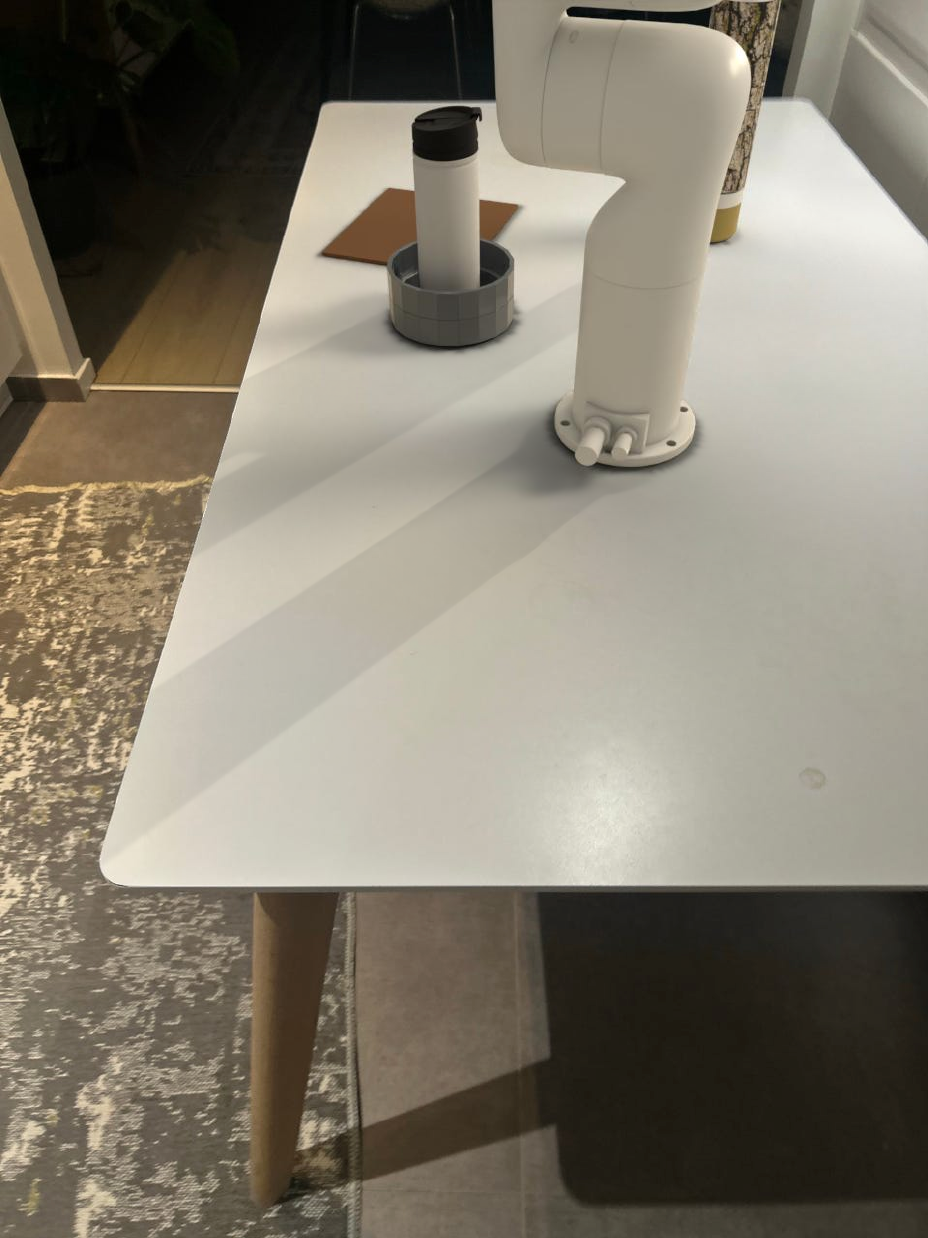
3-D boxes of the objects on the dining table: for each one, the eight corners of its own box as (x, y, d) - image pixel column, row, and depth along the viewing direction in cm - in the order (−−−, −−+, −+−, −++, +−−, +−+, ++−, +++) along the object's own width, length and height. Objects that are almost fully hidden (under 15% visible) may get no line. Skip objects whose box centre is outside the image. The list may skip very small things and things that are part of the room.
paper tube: (719, 249, 108) (766, -1, 90) (668, 235, 111) (703, -10, 93) (745, 229, 112) (794, -16, 94) (694, 215, 115) (733, -24, 97)
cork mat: (464, 277, 105) (464, 273, 104) (321, 255, 109) (321, 251, 109) (518, 207, 118) (518, 204, 117) (389, 190, 122) (388, 187, 122)
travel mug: (483, 329, 96) (482, 121, 82) (419, 329, 96) (407, 122, 82) (483, 299, 100) (482, 98, 86) (423, 300, 100) (411, 99, 86)
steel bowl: (489, 357, 93) (489, 301, 88) (372, 336, 96) (366, 281, 92) (528, 298, 101) (530, 244, 97) (419, 281, 104) (416, 228, 100)
